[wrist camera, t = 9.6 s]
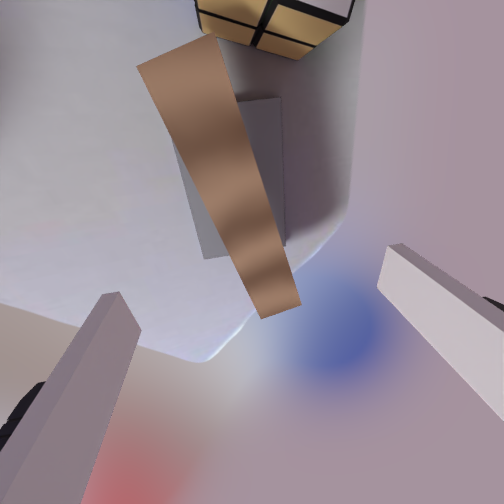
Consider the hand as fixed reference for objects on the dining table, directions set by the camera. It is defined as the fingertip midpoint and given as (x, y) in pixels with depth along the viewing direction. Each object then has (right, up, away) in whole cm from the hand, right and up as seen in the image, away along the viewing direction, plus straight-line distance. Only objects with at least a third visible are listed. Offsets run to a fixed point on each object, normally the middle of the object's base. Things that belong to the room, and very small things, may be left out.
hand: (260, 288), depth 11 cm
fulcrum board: (-3, +10, +17) cm, 20 cm away
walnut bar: (-2, +7, +12) cm, 14 cm away
